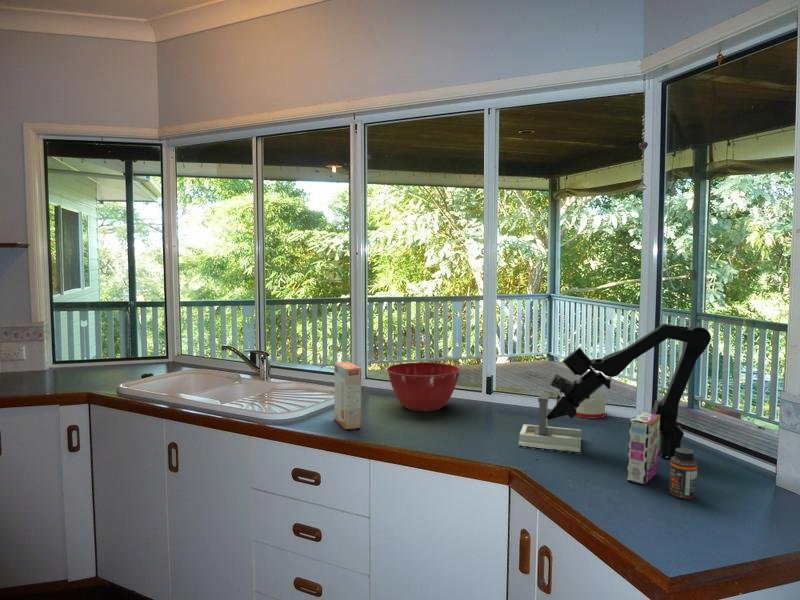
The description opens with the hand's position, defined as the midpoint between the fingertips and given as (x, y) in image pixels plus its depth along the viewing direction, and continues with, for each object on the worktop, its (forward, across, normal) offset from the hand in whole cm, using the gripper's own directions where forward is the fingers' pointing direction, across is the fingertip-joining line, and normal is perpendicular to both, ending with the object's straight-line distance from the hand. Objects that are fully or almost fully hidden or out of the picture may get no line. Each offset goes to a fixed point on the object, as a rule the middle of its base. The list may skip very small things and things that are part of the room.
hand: (547, 418), depth 176 cm
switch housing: (+5, 0, +6) cm, 8 cm away
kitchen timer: (-3, -40, +14) cm, 42 cm away
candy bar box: (-13, +21, +24) cm, 34 cm away
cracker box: (+53, +3, -42) cm, 68 cm away
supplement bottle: (-19, +30, +30) cm, 46 cm away
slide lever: (+5, 0, +3) cm, 6 cm away
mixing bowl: (+40, -28, -28) cm, 56 cm away
